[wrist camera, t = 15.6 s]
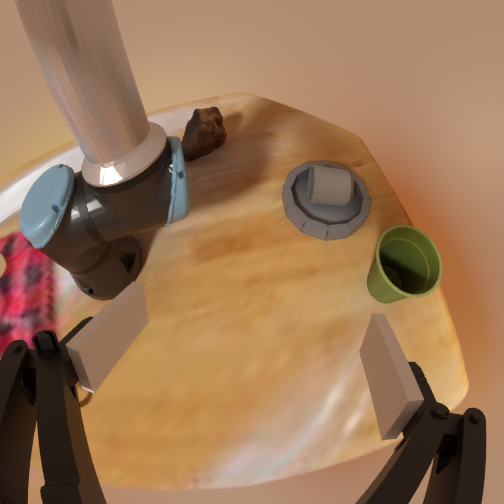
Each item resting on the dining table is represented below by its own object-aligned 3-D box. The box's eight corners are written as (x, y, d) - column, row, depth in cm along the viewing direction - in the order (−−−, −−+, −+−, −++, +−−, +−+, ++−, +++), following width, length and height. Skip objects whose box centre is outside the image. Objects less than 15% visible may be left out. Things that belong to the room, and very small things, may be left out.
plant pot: (390, 245, 50) (415, 214, 39) (420, 297, 45) (453, 275, 35) (342, 269, 48) (361, 239, 38) (373, 328, 43) (403, 312, 33)
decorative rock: (219, 132, 64) (214, 97, 54) (232, 145, 62) (228, 108, 52) (176, 154, 61) (165, 120, 52) (187, 168, 59) (176, 132, 49)
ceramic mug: (347, 213, 52) (358, 190, 45) (308, 211, 52) (314, 186, 45) (341, 174, 56) (349, 150, 49) (305, 171, 56) (309, 146, 50)
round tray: (265, 194, 55) (265, 185, 52) (325, 159, 59) (327, 150, 56) (324, 256, 49) (327, 249, 46) (380, 210, 53) (385, 202, 50)
